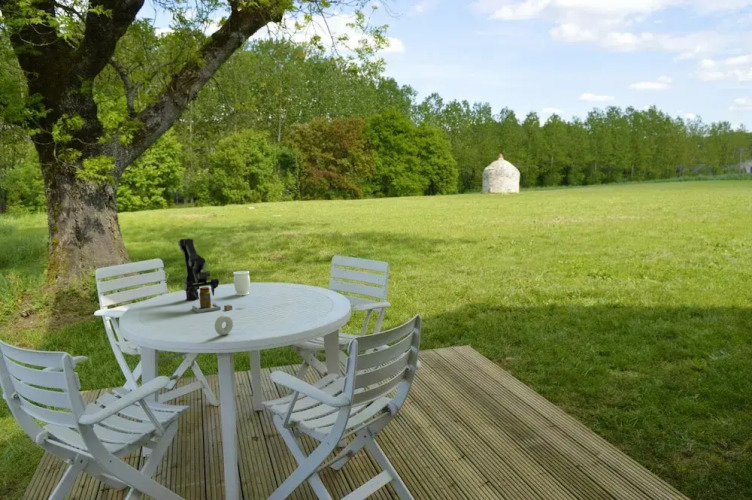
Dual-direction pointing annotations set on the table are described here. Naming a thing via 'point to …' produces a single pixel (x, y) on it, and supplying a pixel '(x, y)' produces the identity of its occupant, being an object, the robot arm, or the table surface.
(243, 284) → the jar
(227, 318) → the donut
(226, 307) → the tan block
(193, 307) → the holder
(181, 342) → the table surface
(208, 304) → the condiment
